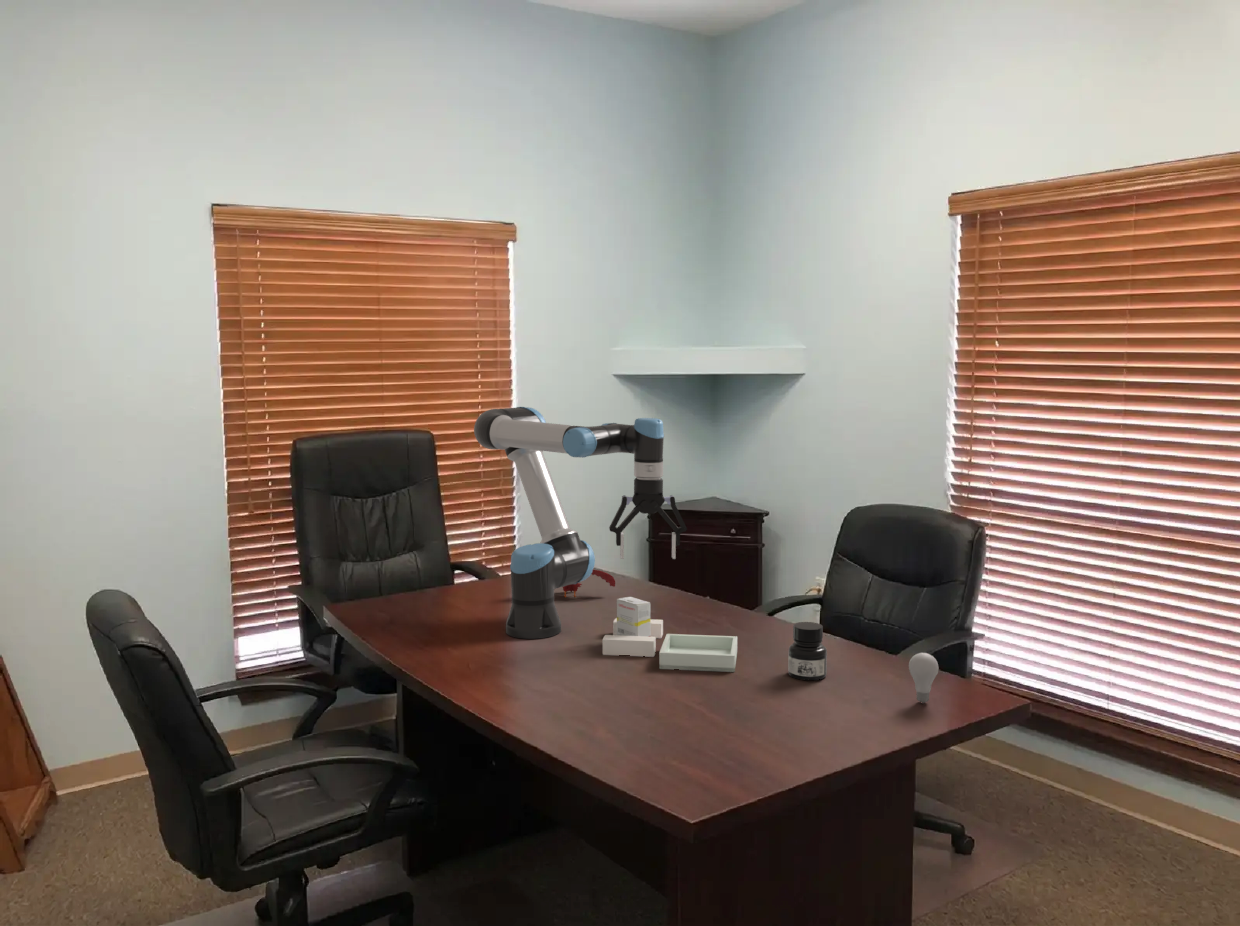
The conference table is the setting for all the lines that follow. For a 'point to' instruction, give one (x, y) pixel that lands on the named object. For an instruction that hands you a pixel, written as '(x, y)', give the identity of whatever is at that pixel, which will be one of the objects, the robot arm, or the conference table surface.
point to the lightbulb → (923, 674)
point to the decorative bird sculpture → (603, 575)
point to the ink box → (633, 617)
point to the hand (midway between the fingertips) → (647, 557)
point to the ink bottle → (807, 652)
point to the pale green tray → (698, 652)
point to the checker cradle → (633, 641)
